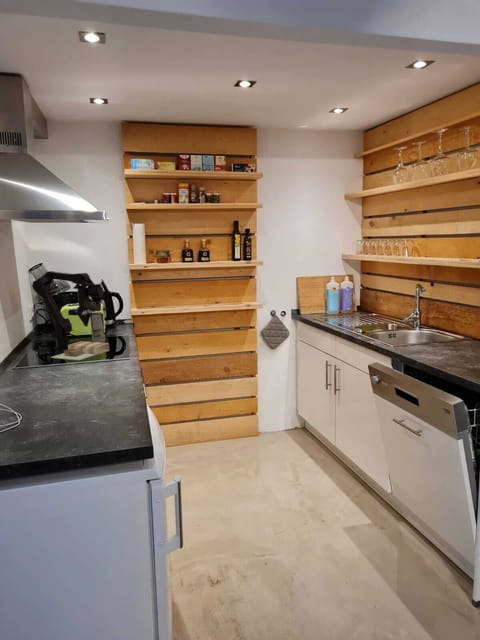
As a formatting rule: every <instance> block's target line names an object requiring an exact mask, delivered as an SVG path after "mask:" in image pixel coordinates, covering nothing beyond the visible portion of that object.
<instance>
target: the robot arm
mask: <svg viewBox="0 0 480 640" xmlns="http://www.w3.org/2000/svg"><path fill="white" fill-rule="evenodd" d="M54 280H58V281H59V280H60V281H66V282H71V283H73V284H75V286H73V290H76V291H77V299H76V302H78V306H77V307H76V308H72V309H69V310H68V314H67V315H68V316H77V317H78V318H79V319H80V321H81V322H82V324H83V325H84V327H88V325H89V322H90V316H91V315H92V314H93V313H96V312H101V311H102V309H101V308H102V303H101V301H100V300H98V301H96V302H94V301H93V299H92V298H102V297H103V296H104V291H105V290H104V287H103V286H102V284H101V283H98V284H96V283H94V281H93V280H92V278H91V277H90V275H89V274H88V273H86V272H79V273H78V272H77V273H68V272H59V271H54V270H51V271H47V272H45V273H44V274H43V275H42V276H40V277H38V278H37V279H35V280H34V281H33V282H32V284H31V287H32V289H33V290H34V292H35V293H36V294H37V295H38V296H40V297H41V299H42V301H43V302H44V304H45V306H46V308H47V310H48V312H49V314H50V315H51V317H52V319H53V321H54V322H53V323H54V324H53V325H54V329H55V330H54V331H53V332H52V333H51V337H52V338H53V339H54V342H55V347H53V349H55V350H56V349H57V350H65V349H68V345H70V342H69V336H70V335H71V332H72V330H73V323H71V321H70V319H69V318H68V317H67V318H65V317H64V316H63V314H62V312H61V311H60V309H59V307H58V305H57V302H55V300H54V298H53V295H52V293H51V284H52V283H53V281H54Z"/></svg>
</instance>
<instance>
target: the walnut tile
mask: <svg viewBox="0 0 480 640" xmlns="http://www.w3.org/2000/svg"><path fill="white" fill-rule="evenodd" d="M63 353H64V354H65V356H71V357H77V356H80V355H83V351H82V350H79V349H70V350H68V349H67V350H64V351H63Z"/></svg>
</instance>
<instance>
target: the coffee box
mask: <svg viewBox="0 0 480 640" xmlns="http://www.w3.org/2000/svg"><path fill="white" fill-rule="evenodd" d="M92 313H93V314H92V315H91V316H90V319H89V321H90V329H91V331H90V332H91V340H92V342H99V343H105V342H106V336H105V335H106V334H105V324H104V323H105V321H104V320H105V319H104V314H103V312H101V311H95V312H92Z"/></svg>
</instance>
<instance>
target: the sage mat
mask: <svg viewBox="0 0 480 640" xmlns="http://www.w3.org/2000/svg"><path fill="white" fill-rule="evenodd" d="M95 356H96V355H94V354H83V355H80V356H77V357H71V356H65V354H64V352H63V353H60V354H57V355H54V356H51V357H50V358H51V359H61V360H69V361H82V360H84V359H88V358H91V357H95Z"/></svg>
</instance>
